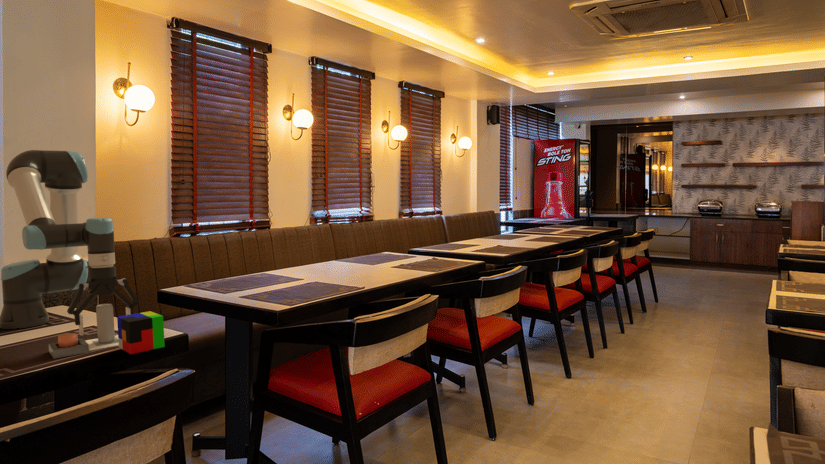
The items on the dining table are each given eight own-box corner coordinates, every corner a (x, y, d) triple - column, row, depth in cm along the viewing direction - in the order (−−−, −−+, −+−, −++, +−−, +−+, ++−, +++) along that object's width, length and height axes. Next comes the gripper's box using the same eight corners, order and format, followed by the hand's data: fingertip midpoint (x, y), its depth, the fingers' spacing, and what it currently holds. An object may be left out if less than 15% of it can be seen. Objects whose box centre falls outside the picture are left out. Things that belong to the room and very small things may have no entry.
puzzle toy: (118, 348, 167) (117, 316, 167) (151, 341, 175) (150, 311, 174) (130, 354, 161) (129, 322, 160) (164, 347, 168) (163, 315, 167)
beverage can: (107, 343, 170) (105, 306, 169) (94, 343, 171) (92, 306, 170) (118, 339, 175) (116, 303, 174) (105, 339, 176) (103, 303, 175)
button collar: (49, 351, 164) (48, 344, 163) (82, 345, 170) (82, 338, 169) (53, 358, 157) (53, 350, 157) (88, 352, 163) (88, 344, 163)
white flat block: (81, 342, 174) (81, 340, 174) (122, 335, 182) (121, 334, 182) (89, 350, 164) (89, 349, 164) (132, 343, 172) (132, 342, 172)
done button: (57, 346, 163) (56, 335, 163) (76, 343, 167) (75, 332, 166) (60, 349, 160) (59, 338, 159) (79, 346, 163) (78, 335, 163)
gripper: (58, 271, 160) (62, 340, 162) (147, 263, 176) (150, 326, 178) (53, 268, 166) (58, 335, 167) (141, 261, 182) (144, 321, 184)
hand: (105, 330), depth 173 cm, fingers open, 13 cm apart
